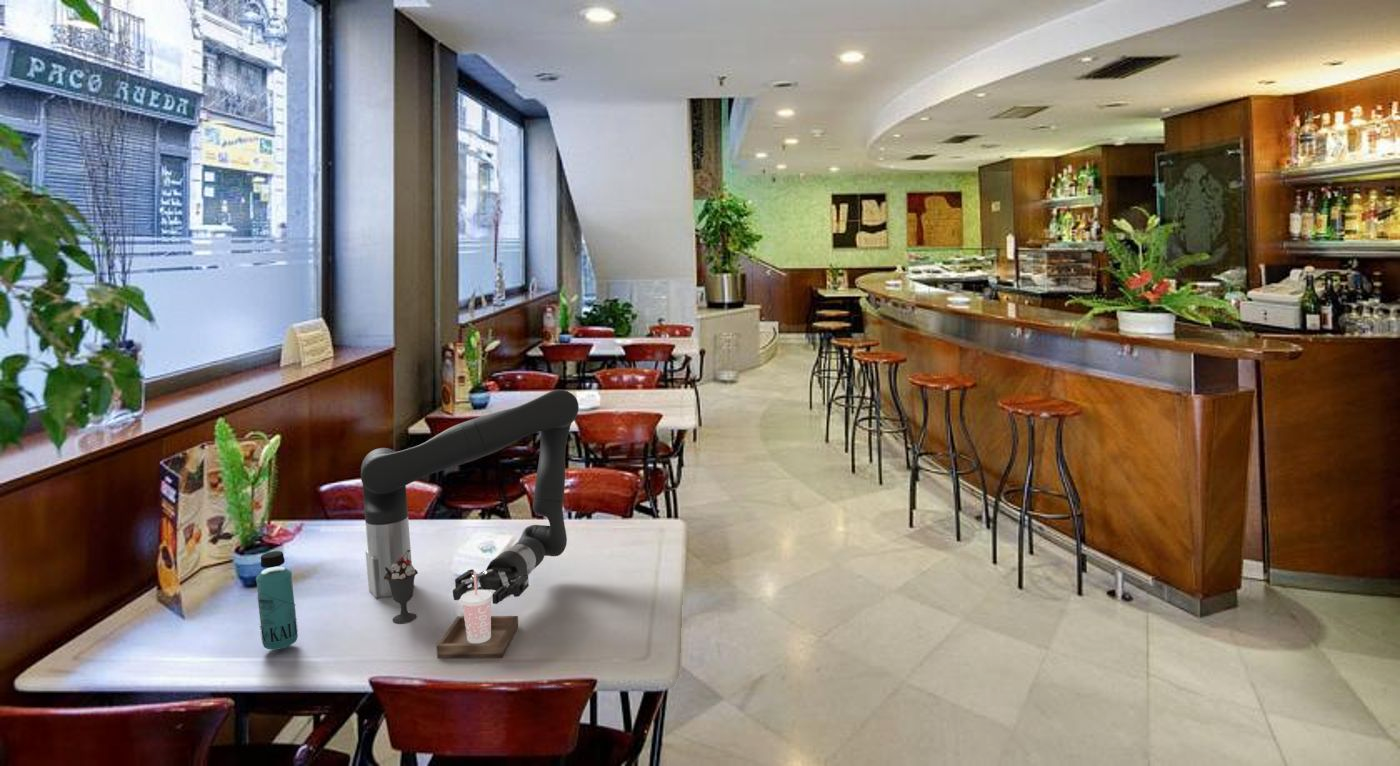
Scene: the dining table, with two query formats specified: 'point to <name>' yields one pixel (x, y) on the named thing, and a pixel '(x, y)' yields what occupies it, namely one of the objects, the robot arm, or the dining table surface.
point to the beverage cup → (477, 614)
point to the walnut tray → (495, 647)
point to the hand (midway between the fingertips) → (474, 597)
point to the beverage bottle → (276, 602)
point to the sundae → (402, 587)
